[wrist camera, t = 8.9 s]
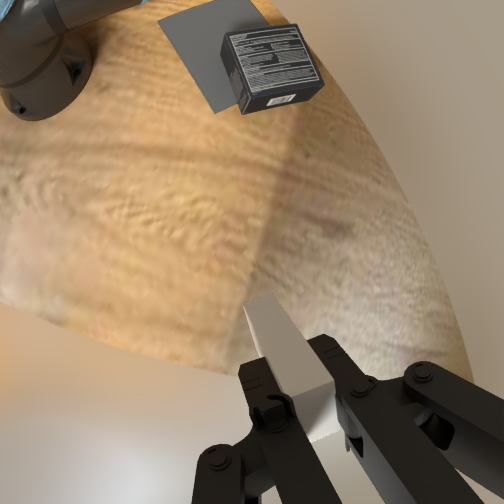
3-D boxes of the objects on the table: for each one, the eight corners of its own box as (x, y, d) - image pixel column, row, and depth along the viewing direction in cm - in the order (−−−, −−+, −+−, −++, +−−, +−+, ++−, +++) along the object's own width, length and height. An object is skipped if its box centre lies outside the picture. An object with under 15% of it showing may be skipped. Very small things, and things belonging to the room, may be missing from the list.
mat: (157, 22, 37) (157, 21, 37) (242, -7, 39) (242, -8, 39) (214, 113, 40) (215, 113, 40) (304, 76, 42) (305, 75, 42)
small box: (309, 102, 42) (285, 43, 41) (327, 85, 36) (299, 21, 34) (240, 116, 41) (218, 54, 39) (249, 99, 34) (223, 30, 33)
